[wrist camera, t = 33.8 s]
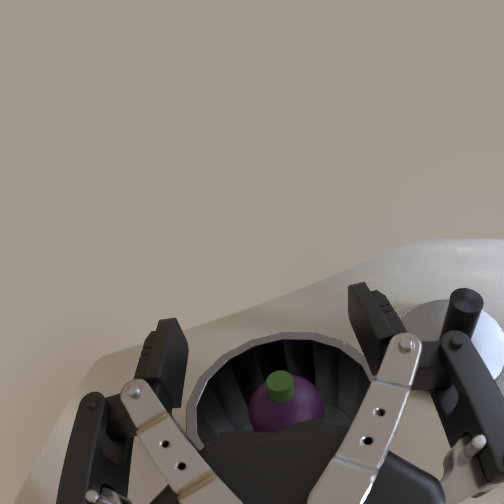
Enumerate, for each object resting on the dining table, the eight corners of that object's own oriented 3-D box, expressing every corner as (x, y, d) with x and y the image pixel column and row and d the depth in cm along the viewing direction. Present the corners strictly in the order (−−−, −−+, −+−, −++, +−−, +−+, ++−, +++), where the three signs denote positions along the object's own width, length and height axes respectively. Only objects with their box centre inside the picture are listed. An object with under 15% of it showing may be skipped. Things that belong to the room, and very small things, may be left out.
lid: (504, 316, 28) (519, 271, 24) (498, 409, 18) (528, 366, 15) (410, 297, 36) (415, 252, 33) (376, 381, 27) (384, 335, 24)
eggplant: (335, 439, 22) (338, 363, 16) (304, 484, 19) (292, 431, 13) (287, 419, 25) (268, 339, 20) (255, 459, 22) (219, 393, 16)
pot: (391, 419, 23) (411, 359, 18) (319, 540, 14) (317, 533, 9) (276, 377, 31) (260, 314, 26) (194, 468, 22) (149, 424, 18)
